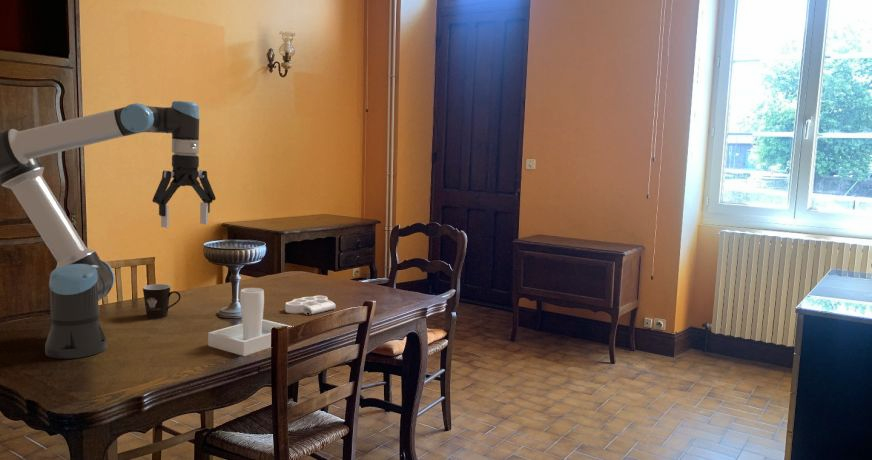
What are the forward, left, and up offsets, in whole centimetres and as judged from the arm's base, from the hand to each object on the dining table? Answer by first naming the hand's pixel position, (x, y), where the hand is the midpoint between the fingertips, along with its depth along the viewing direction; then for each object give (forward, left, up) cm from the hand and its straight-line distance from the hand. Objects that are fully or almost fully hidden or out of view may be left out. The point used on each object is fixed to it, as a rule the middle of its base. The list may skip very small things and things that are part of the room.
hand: (185, 225), depth 201 cm
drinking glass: (+7, -22, -33) cm, 40 cm away
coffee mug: (+8, +23, -34) cm, 42 cm away
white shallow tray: (+7, -22, -34) cm, 41 cm away
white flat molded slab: (+47, -7, -34) cm, 59 cm away
